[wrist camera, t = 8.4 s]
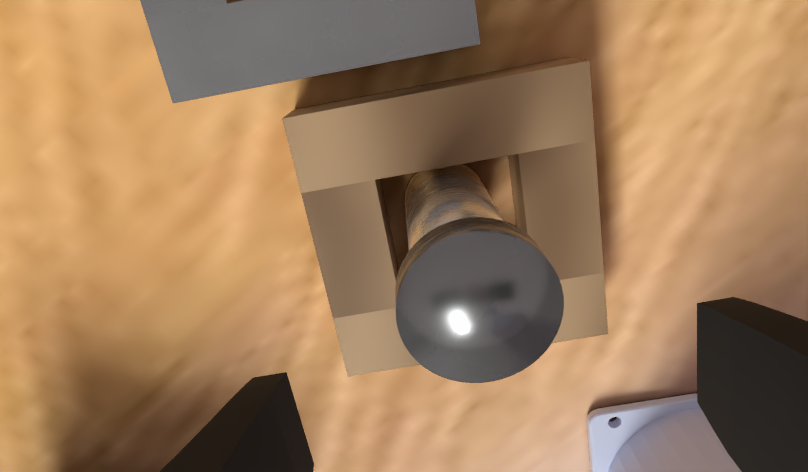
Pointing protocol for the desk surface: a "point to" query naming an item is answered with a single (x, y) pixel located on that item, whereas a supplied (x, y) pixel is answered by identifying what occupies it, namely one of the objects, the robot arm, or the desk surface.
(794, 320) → the robot arm
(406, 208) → the lock pin
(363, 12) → the mount
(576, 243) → the socket
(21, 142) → the desk surface
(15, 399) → the desk surface
